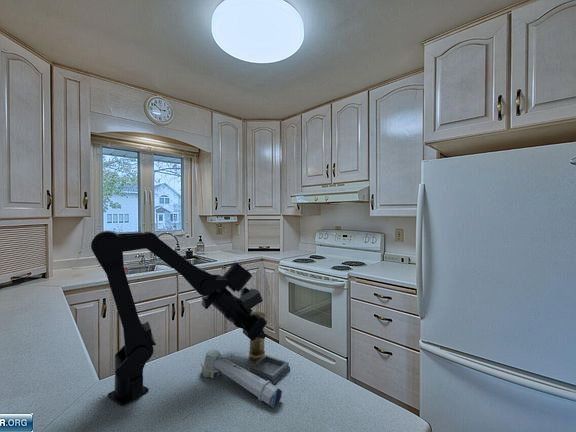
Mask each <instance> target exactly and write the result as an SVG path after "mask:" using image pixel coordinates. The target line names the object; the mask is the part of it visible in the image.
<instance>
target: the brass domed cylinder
mask: <svg viewBox="0 0 576 432" xmlns="http://www.w3.org/2000/svg"><path fill="white" fill-rule="evenodd" d="M255 314H258V315H260V316H261V317H263V318H264V319H265V320H266V317H267V316H266V313H265V312H264V311H252V312H251V313H250V315H251V316H252V315H255ZM265 327H266V326H265ZM265 327H264V328H263V331H264V333H265V329H266V328H265ZM265 334H266V333H265ZM265 355H266V350H265V339H262V338H256V339H255V340H253V341H252V340H251V339H249V351H248V359H249V360H251V361H253V362H257V361H258V360H259V359H261V358H262V357H264V356H265Z"/></svg>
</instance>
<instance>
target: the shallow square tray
mask: <svg viewBox="0 0 576 432" xmlns="http://www.w3.org/2000/svg"><path fill="white" fill-rule="evenodd" d="M248 371H249V372H251V373H253V374H254V375H256V376H258V377H260V378H262V379H264V380H266V381H268V380H269V381H270V382H271V383H272V385H274V386H275V385H276V383H278V382H279V381H280V380H281V379H282V378H283V377H285V375H287V373H289V372H290V371H291V366H290V363H289V362H288V361H285V360H282V359H280V358H276V357H273V356H271V355H267V354H265V356H264V357H262V358H261V359H259V360H258V361H254V363H253V364H251V365H250V366H249V367H248Z"/></svg>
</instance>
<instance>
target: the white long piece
mask: <svg viewBox="0 0 576 432" xmlns="http://www.w3.org/2000/svg"><path fill="white" fill-rule="evenodd" d="M221 355H222V354H221V352H220V351H219V350H217V349H214V348H213V349H208V350H207V352H206V353H205V357H204V358H203V359H202V360H201V362H200V365H201V373H202V376H203V377H205V379H206V378H211V379H215V378H218V377H220V376H221V375H222V373H223V374H224V375H225V376H227V377H228V378H230V379H231V380H232V381H235V383H237V384H238V385H240V386H241V387H243V388H244V389H246V390H247V391H248V392H249V393H251V394H252V395H254V396H255V397H257V400H258V401H260V402H261V403H262V402H264V403H265V404H267V405H268V406H270V407H272V408H273V409H274V408H275V407H276V406H277V405H278V404H279V403H280V402H281V399H282V394H283V390H281V389H280V388H278V387H277V386H275V384H274V385H272V383H271V382H270V381H269V380H268V381H266V380H264V379H262V378H260V377H258V376H256V375H254V374H253V373H251V372H249V370H247V369H245V368H243V367H241V366H239V365H237V364H236V363H234V362H232V361H230V360H228V359H226V357H225V358H224V357H223V356H221Z"/></svg>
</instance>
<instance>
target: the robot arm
mask: <svg viewBox="0 0 576 432" xmlns="http://www.w3.org/2000/svg"><path fill="white" fill-rule="evenodd" d="M90 247H91V251H92V253H93V255H94V256H95V258H96V260H97V261H98V264H99V265H100V267H101V268H102V269H103V272H104V273H105V275H106V278H107V281H108V284H109V287H110V290H111V293H112V296H113V300H114V304H115V306H116V307H115V308H116V310H117V313H118V316H119V319H120V322H121V325H122V329H123V340H124V341H123V342H124V345H123V346H122V347H121V348H120V349H119V350H118V351H117V352H116V353H115V354H114V390H112V391H111V392H108V393H107V398H109V399H111V400H112V401H113V402H116V403H117V404H119V405H120V406H125V405H126V404H128V403H130V402H132V401H135V399H137V398H139V397H140V396H143V395H145V394H146V393H148V392H149V391H150V390H149V389H150V388H149V387H147V386H145V385H144V368H145V366H146V363H147V362H148V361H149V360H150V359H151V358H152V356H153V354H154V351H155V350H154V346H156V345H157V344H156V340H155V339H154V335H153V333H152V327H151V325H150V322H149V321H146V322H144V323H143V322H142V321H141V319H140V317H139V314H138V313H139V312H138V311H137V307H136V304H135V300H134V298H133V294H132V291H131V287H130V284H129V281H128V277H127V273H126V271H125V264H124V263H125V262H124V252H133V251H137V250H143V249H144V250H145V249H146V250H148V251H149V252H151V253H152V254H153V255H154V256H156V257H158V259H160V260H161V261H162V262H164V263H165V264H167V265H168V266H170V268H172V269H173V270H175V271H176V272H177V273H178V274H180V275H181V276H182V278H184V280H185V281H186V282H187V283H188V284H189V285H190V287H192V289H193V290H194V291H195V292H197V293H198V294H199V295H200V296H202V297H201V306H202V307H203V308H204V310H208V309H209V308H210V307H211V305H212V306H213V307H214V308H215V309H216V310H217V311H218V312H220V313H221V314H222V315H223V316H224V317H225V319H226V320H228V321H229V322H230V323H232V324H233V325H234V326H235V327H236V328H239V329H242V333H243V335H244V336H246V337H247V338H248V339H249V340H250V339H251V340H252V341H253V340H255V339H256V338H262V339H264V340H265V338H266V337H267V335H266V333H264V331H263V328H264V327H266V326H267V323H268V320H266V318H265V319H264V318H263V317H261V316H260V315H258V314H255V315H252V316H251V315H250V313H252V312H254V310H253V309H252V308H255V307H256V306H257V305H259V304H260V303H261V304H262V302H263V297H262V295H261V292H260V290H257V289H256V288H250V289H249V288H247V287H246V285H247V284H248V282H249V281H250V280H251V279H252V278H253V275H252V273H251V272H250V271H249V270H247V269H245V267H243V266H242V265H240V264H239V263H238V262H235V261H234V262H233V263H232V264H231V266H230V267H229V268H228V270H227V271H226V272H225V273H224V274H223V275H221V274H211V273H209V272H208V271H206V270H205V269H203V268H201V267H200V266H197V265H195V264H192V263H191V262H190V261H188V260H187V259H186V258H184V257H183V255H181V254H180V253H178V252H177V251H175V250H174V249H173V248H172V247H170V246H169V245H168V244H167V243H165V242H164V241H163V240H162V239H160V238H159V237H158V236H157V234H155V233H154V232H152V231H143V232H128V233H117V232H115V231H113V230H102V231H100V232H98V233H97V234H96V235H95V236H94V237H93V239H92V241H91V244H90ZM227 288H228V289H227ZM230 290H231V291H232V292H233V293H235V292H238V293H239V292H240V297H239V298H238V297H237V296H235V295H234V294H233V293H232V292H231V291H230Z"/></svg>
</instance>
